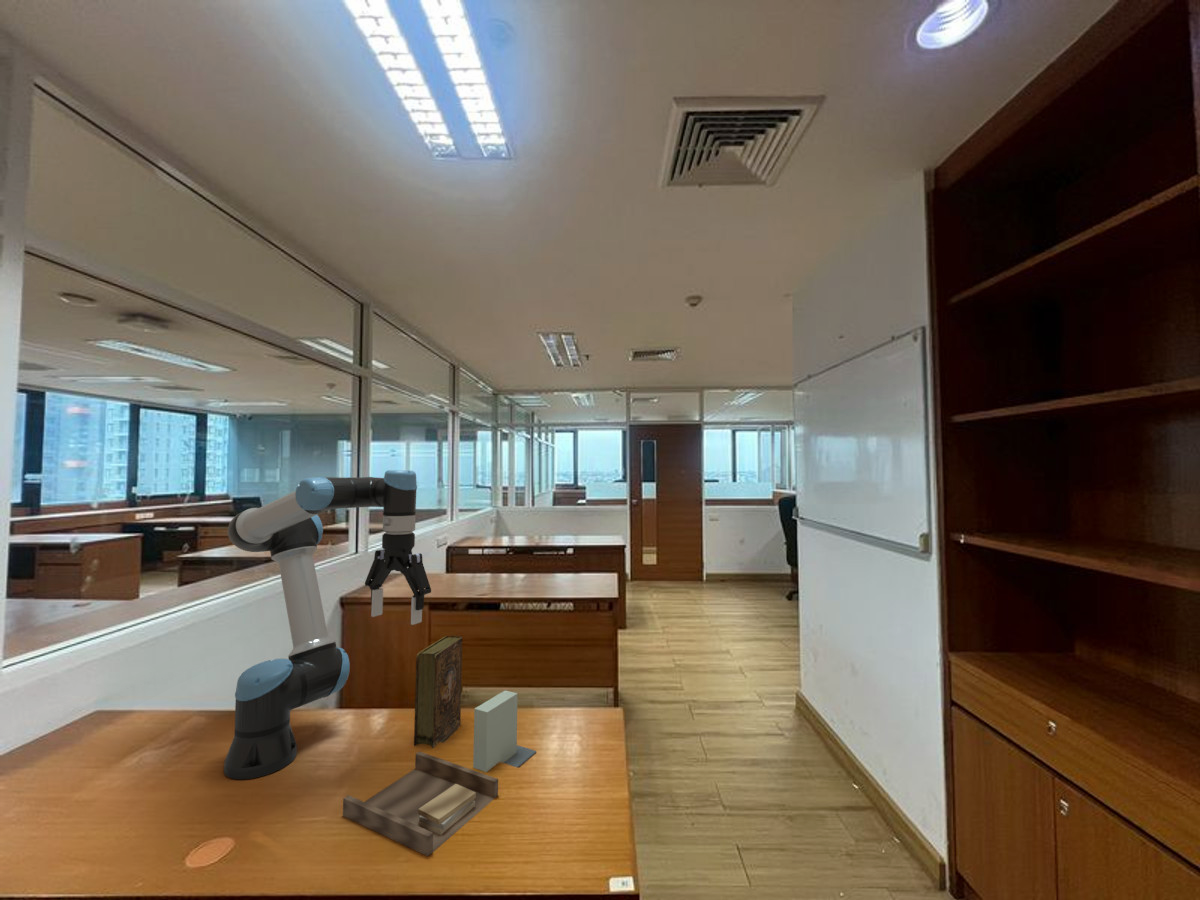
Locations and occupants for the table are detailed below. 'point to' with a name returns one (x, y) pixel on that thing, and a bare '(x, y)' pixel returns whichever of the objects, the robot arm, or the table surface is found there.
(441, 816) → the offcut oak
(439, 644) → the book
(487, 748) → the upright sage slab
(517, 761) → the mat
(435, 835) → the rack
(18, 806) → the table surface
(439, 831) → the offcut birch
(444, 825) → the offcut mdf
